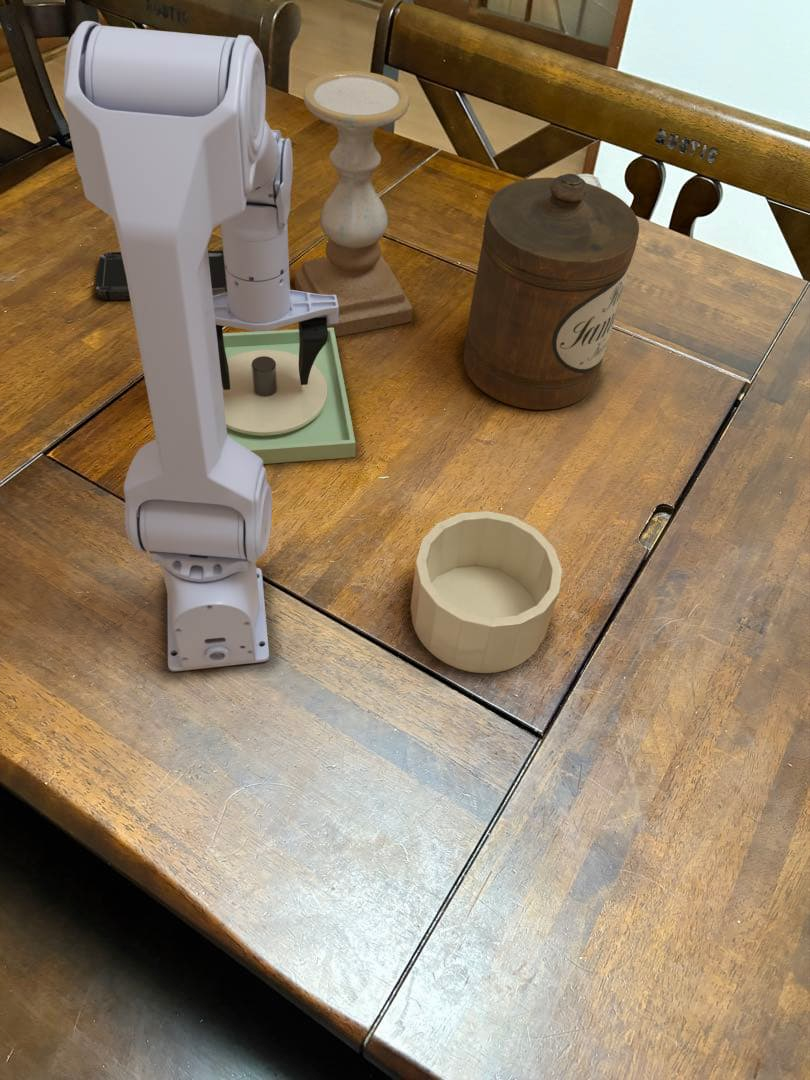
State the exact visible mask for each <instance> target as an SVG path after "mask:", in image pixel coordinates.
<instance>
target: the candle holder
mask: <svg viewBox="0 0 810 1080" xmlns="http://www.w3.org/2000/svg"><path fill="white" fill-rule="evenodd" d="M409 95H410V94H409V93H408V91H407V90H406V88H405V87H404V86H403V85H402V84H401V83H399V82H398V81H396V80H395V79H392V78H390V77H388V76H385V75H383V74H380V73H375V72H369V71H362V70H341V71H333V72H329V73H325V74H322V75H319V76H317V77H315V78H313V79H312V80H311V81H310V82H309V83H308V84H307V85H306V86H305V88H304V90H303V95H302V97H303V102H304V106H305V108H306V109H307V110H308V111H309V113H311V114H312V115H313V116H314V117H315V118H316V119H319V120H320V121H322V122H325V123H328V124H331V125H333V126H334V128H335V129H336V132H337V141H336V144H335V146H334V147H333V148H332V149H331V151H330V153H329V161H330V163H331V165H332V166H333V167H334V169H335V171H336V172H337V174H338V179H337V183H336V185H335V187H334V188H333V190H332V191H331V193H330V194H329V195H328V196H327V198H326V200H325V202H324V203H323V205H322V208H321V210H320V215H319V225H320V228H321V230H322V232H323V234H324V235H325V237H326V238H327V239H328V240H327V242H326V244H325V255H326V256H324V257H318V258H313V259H310V260H309V259H308V260H306V261H304V262H302V263H301V269H297V270H294V275H293V277H294V278H293V279H294V288H295V290H296V291H302V292H308V293H314V294H321V295H336V297H337V302H338V307H339V313H338V324H328V323H327V328H334V332H335V337H337V338H338V337H341V336H348V335H353V334H358V333H362V332H368V331H373V330H379V329H383V328H387V327H394V326H399V325H403V324H407V323H410V322H412V320H413V305H412V304H411V302H410V299H409V298H408V296H407V295H406V293H405V292H404V290H403V288H402V286H401V283H400V282H399V281H398V279H397V277H396V276H395V273H394V272H393V271H392V269H391V267H390V266H389V264H388V262H386V260H385V259H384V257H383V256H382V248H381V247H382V246H381V244H380V242H379V241H380V240H381V239H382V238H383V237H384V235H385V234H386V232H387V229H388V225H389V217H388V212H387V209H386V207H385V204H384V203H383V200H382V199H381V197H380V196H379V194H378V193H377V191H376V190H375V187H374V186H373V183H372V177H373V174H374V173H375V172H376V169H377V168H378V167H379V166H380V165H381V162H382V155H381V153H380V152H379V150H378V149H377V147H376V146H375V143H374V137H375V133H376V131H377V130H378V129H379V127H383V126H387V125H390V124H393V123H395V122H396V121H398V120H400V119H401V118H402V117H404V115H405V114H406V113H407V112H408V109H409V106H410V96H409Z"/></svg>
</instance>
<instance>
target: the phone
mask: <svg viewBox="0 0 810 1080" xmlns="http://www.w3.org/2000/svg"><path fill="white" fill-rule="evenodd" d="M208 257H209V266H210V276H211V285H212V295H213V296H215V295H219V294H222V293H226V292H227V283H226V273H225V264H224V254H223V250H208ZM94 287H95V291H96V295H97V297H98V298H99V299H100V300H104V301H122V300H123V301H124V300H125V301H127V300H129V301H131V300H130V295H129V289H128V284H127V278H126V273H125V268H124V264H123V259H122V255H121V251H109V252H104V253H103V254H101V255H100V257H99V261H98V267H97V273H96V279H95V286H94Z"/></svg>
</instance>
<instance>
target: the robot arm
mask: <svg viewBox="0 0 810 1080" xmlns="http://www.w3.org/2000/svg"><path fill="white" fill-rule="evenodd" d="M64 57H65V59H64V76H63V77H64V78H63V86H62V87H63V88H62V99H63V106H64V111H65V117H66V121H67V126H68V130H69V135H70V141H71V145H72V150H73V155H74V161H75V164H76V169H77V173H78V175H79V177H80V179H81V185H82V188H83V189H82V190H83V193H84V197H85V198H86V200H88V201H89V202H90V203H92V204H93V205H94V206H96V207H97V208H98V209H99V210H101V211H103V212H104V213H105V214H106V215H108V216H109V217H111V219H112V220H113V225H114V228H115V232H116V236H117V242H118V245H119V249H120V252H121V255H122V259H123V264H124V268H125V273H126V278H127V284H128V289H129V295H130V300H129V301H130V305H131V312H132V316H133V321H134V329H135V333H136V338H137V343H138V348H139V354H140V359H141V360H140V361H141V365H142V371H143V376H144V382H145V387H146V392H147V398H148V403H149V408H150V410H149V411H150V415H151V420H152V427H153V431H154V436H155V438H154V439H153V440H151V441H149V442H148V443H146V444H144V445H143V446H141V447H140V448H138V450H137V451H136V453H135V455H134V457H133V459H132V461H131V463H130V465H129V466H128V467H129V468H128V470H127V473H126V476H125V480H124V483H123V494H124V503H125V508H124V527H125V528H124V529H125V533H126V537H127V540H128V542H129V544H130V545H132V548H133V550H134V551H136V552H138V553H149V556H150V561H151V563H152V564H156V565H160V567H161V572H162V576H163V580H164V584H165V589H166V593H167V667H168V669H169V671H171V672H183V671H190V670H200V669H201V670H202V669H209V668H219V667H228V666H229V667H230V666H238V665H247V664H256V663H264V662H267V661H268V660H269V659H270V651H269V648H270V647H269V638H268V627H267V625H268V624H267V614H266V613H267V612H266V606H265V605H266V604H265V603H266V601H265V593H264V592H265V591H264V579H263V570H262V569H261V568H260V567H257V562H258V561H259V560H260V559H261V558H262V557H263V556H264V555H265V554H266V552H267V550H268V547H269V541H270V537H271V536H270V535H271V530H272V529H271V528H272V517H273V492H272V487H271V485H270V484H269V480H268V476H267V475H268V474H267V469H266V468H265V467H264V464H263V460H262V459H261V458H260V457H259V456H257V455H256V454H254V453H253V452H252V451H250V450H249V449H247V448H245V447H244V446H242V445H241V444H239V443H237V442H236V441H234V440H233V439H232V438H230V437H229V436H228V435H227V428H226V418H225V409H224V399H223V390H222V386H223V389H224V390H230V377H229V367H228V362H227V357H226V353H225V348H224V339H223V333H224V330H223V327H227V328H233V329H239V330H246V331H250V332H258V331H274V330H277V329H280V328H283V327H286V326H290V325H294V324H297V323H298V329H299V340H300V345H299V376H300V382H301V385H307V384H308V378H309V374H310V371H311V368H312V365H313V363H314V361H315V359H316V357H317V355H318V353H319V352H320V350H321V349H322V348H323V346H324V345H325V344H326V342H327V338H328V329H327V323H328V324H338V313H339V307H338V302H337V297H336V295H321V294H314V293H308V292H302V291H297V290H296V289H291V282H290V281H291V279H290V253H289V231H288V230H289V228H288V227H289V226H288V225H289V223H288V220H289V216H290V212H291V189H292V185H293V173H294V171H293V170H294V155H293V147H292V141H291V138H289V137H287V138H285V137H284V138H283V136H282V133H281V131H280V130H279V129H271V127H270V125H269V123H268V121H267V120H266V108H267V107H266V105H267V103H266V102H267V91H266V90H267V89H266V88H267V87H266V86H267V85H266V72H265V71H266V70H265V64H264V58H263V54H262V52H261V50H260V48H259V47H258V45H256V43H255V41H254V39H253V38H252V37H251V36H250V35H246V34H245V35H244V34H238V35H237V36H236V37H232V36H221V35H219V36H218V35H209V34H198V33H188V32H178V31H166V30H157V29H155V30H154V29H143V28H133V27H122V26H113V25H112V26H111V25H102V24H101V23H99V22H96V21H92V20H84V21H82V22H81V23H79V24H78V25H77V27H76V29H75V31H74V33H72V35H71V36H70V39H69V41H68V44H67V48H66V52H65V56H64ZM218 226H220V235H221V243H222V244H221V245H222V251H223V254H224V264H225V273H226V283H227V292H226V293H222V294H219V295H215V296H213V295H212V285H211V276H210V266H209V257H208V251H209V250H208V249H209V247H208V245H209V243H210V240H211V237H212V234H213V231H214V229H215V228H217V227H218ZM262 645H263V646H262ZM173 654H176V655H173Z"/></svg>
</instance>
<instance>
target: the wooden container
mask: <svg viewBox="0 0 810 1080" xmlns="http://www.w3.org/2000/svg"><path fill="white" fill-rule="evenodd" d="M577 175H578V174H574V173H565V174H561V175H558V176H556V177H534V178H527V179H522V180H518V181H515V182H512V183H510V184H507V185H504V186H503V187H502V188H501V189H499V190H498V191H496V192H495V193H494V195H493V196H492V197H491V199H490V201H489V203H488V207H487V211H486V214H485V219H484V226H483V234H482V235H483V237H482V241H481V247H480V254H479V259H478V265H477V270H476V276H475V281H474V287H473V292H472V297H471V303H470V309H469V316H468V322H467V329H466V330H467V331H466V337H465V343H464V351H463V364H464V365H463V366H464V369H465V372H466V374H467V376H468V378H469V379H470V380H471V382H472V383H473V384H474V385H475V386H476V387H477V388H478V389H479V390H481V392H483V393H484V394H486V395H487V396H489V397H491V398H493V399H495V400H496V401H499V402H502V403H504V404H507V405H509V406H512V407H515V408H522V409H527V410H537V411H538V410H543V411H544V410H555V409H556V410H557V409H560V408H564V407H568V406H572V405H574V404H576V403H579V402H580V401H581V400H582V399H584V398H585V397H586V396H587V395H589V394H590V392H591V391H592V390H593V388H594V387H595V384H596V382H597V379H598V377H599V373H600V370H601V366H602V363H603V359H604V356H605V353H606V351H607V347H608V344H609V341H610V337H611V335H612V331H613V327H614V323H615V320H616V316H617V312H618V308H619V305H620V300H621V297H622V294H623V290H624V286H625V283H626V279H627V276H628V272H629V268H630V265H631V262H632V259H633V257H634V254H635V250H636V248H637V247H636V246H637V244H638V243H637V242H638V238H639V235H640V224H639V223H640V222H639V220H638V218H637V216H636V213H635V212H634V210H633V209H632V208H631V206H629V205H628V204H627V202H625V201H624V200H623V199H622V198H620V197H618V196H617V195H615V194H614V193H612V192H610V191H608V190H606V189H604V188H599V187H597V186H594V185H591V184H588V183H586V182H585V181H584V180H583V179H582V178H580V177H579V176H577Z"/></svg>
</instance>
